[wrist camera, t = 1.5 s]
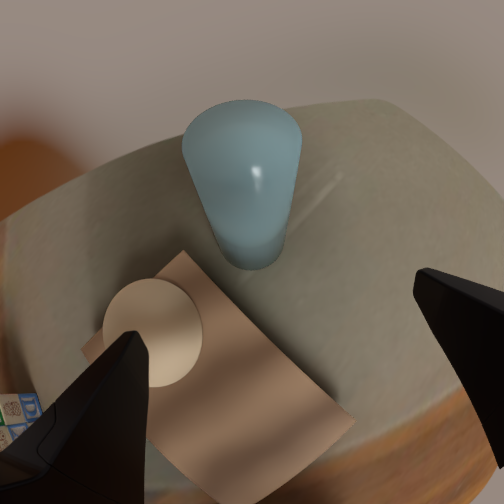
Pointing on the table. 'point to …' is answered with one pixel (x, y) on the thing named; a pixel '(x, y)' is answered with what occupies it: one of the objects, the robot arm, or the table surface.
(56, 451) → the robot arm
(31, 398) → the stack of blocks
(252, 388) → the plate
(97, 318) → the table surface
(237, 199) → the light blue rounded piece
